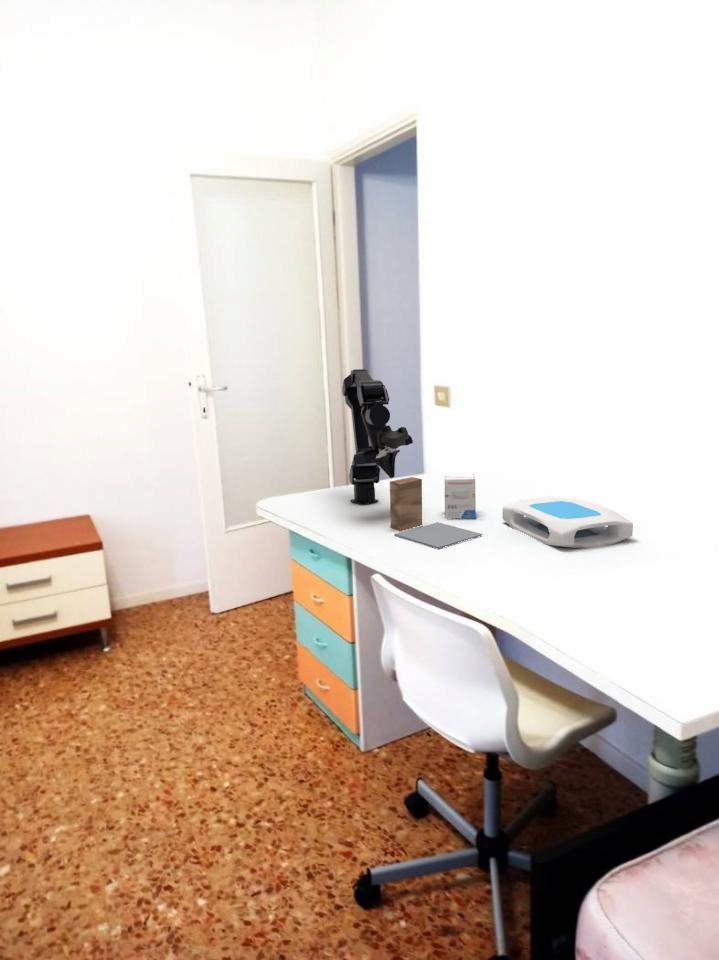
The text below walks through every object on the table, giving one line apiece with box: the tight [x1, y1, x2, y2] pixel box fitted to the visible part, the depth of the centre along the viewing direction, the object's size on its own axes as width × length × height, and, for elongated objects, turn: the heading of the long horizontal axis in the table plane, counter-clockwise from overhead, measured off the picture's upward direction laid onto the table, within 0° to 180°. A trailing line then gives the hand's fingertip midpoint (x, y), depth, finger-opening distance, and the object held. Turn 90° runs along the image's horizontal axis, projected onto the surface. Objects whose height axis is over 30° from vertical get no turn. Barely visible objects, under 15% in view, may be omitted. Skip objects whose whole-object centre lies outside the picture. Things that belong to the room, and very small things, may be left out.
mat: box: [394, 521, 484, 550], centre depth 179 cm, size 16×16×1 cm
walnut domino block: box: [389, 476, 423, 532], centre depth 187 cm, size 4×8×13 cm, turn 129°
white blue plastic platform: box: [502, 496, 634, 549], centre depth 180 cm, size 21×28×6 cm
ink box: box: [444, 472, 477, 520], centre depth 197 cm, size 9×8×12 cm
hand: (392, 477), depth 198 cm, fingers closed
